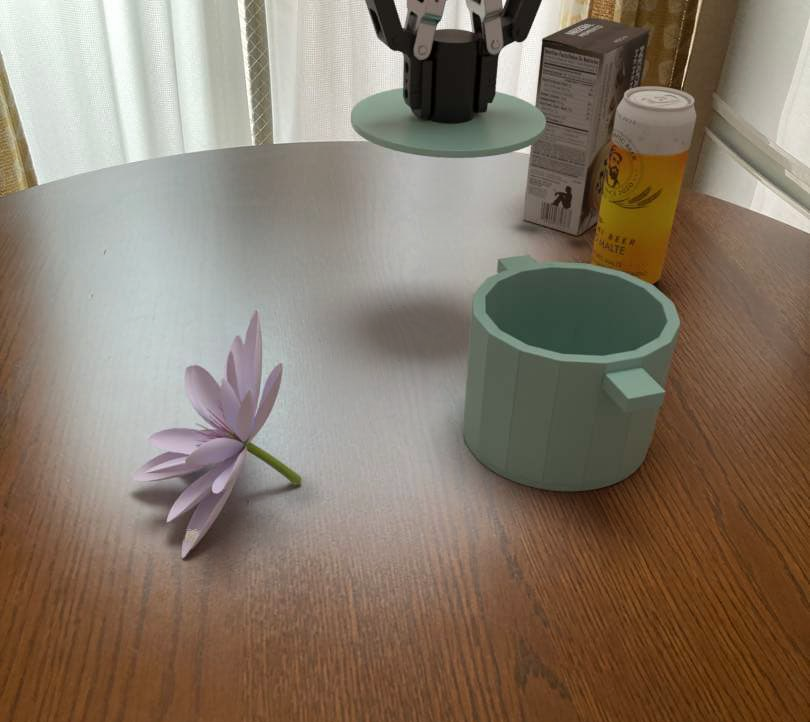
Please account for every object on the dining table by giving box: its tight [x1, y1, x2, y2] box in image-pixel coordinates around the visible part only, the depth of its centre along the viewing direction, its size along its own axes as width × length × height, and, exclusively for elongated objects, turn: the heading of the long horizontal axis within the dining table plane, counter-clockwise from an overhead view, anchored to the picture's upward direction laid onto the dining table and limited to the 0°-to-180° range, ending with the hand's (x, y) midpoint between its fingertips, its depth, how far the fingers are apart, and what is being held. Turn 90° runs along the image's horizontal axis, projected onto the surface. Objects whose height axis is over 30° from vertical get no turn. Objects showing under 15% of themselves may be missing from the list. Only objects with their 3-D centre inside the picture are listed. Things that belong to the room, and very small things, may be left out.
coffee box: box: [522, 17, 651, 237], centre depth 85 cm, size 9×6×16 cm
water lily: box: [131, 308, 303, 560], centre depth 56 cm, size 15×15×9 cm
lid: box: [350, 28, 546, 159], centre depth 63 cm, size 14×14×6 cm
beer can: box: [590, 85, 697, 285], centre depth 75 cm, size 6×6×15 cm
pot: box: [462, 254, 681, 492], centre depth 60 cm, size 13×18×10 cm
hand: (448, 110), depth 64 cm, fingers closed on lid, 3 cm apart
